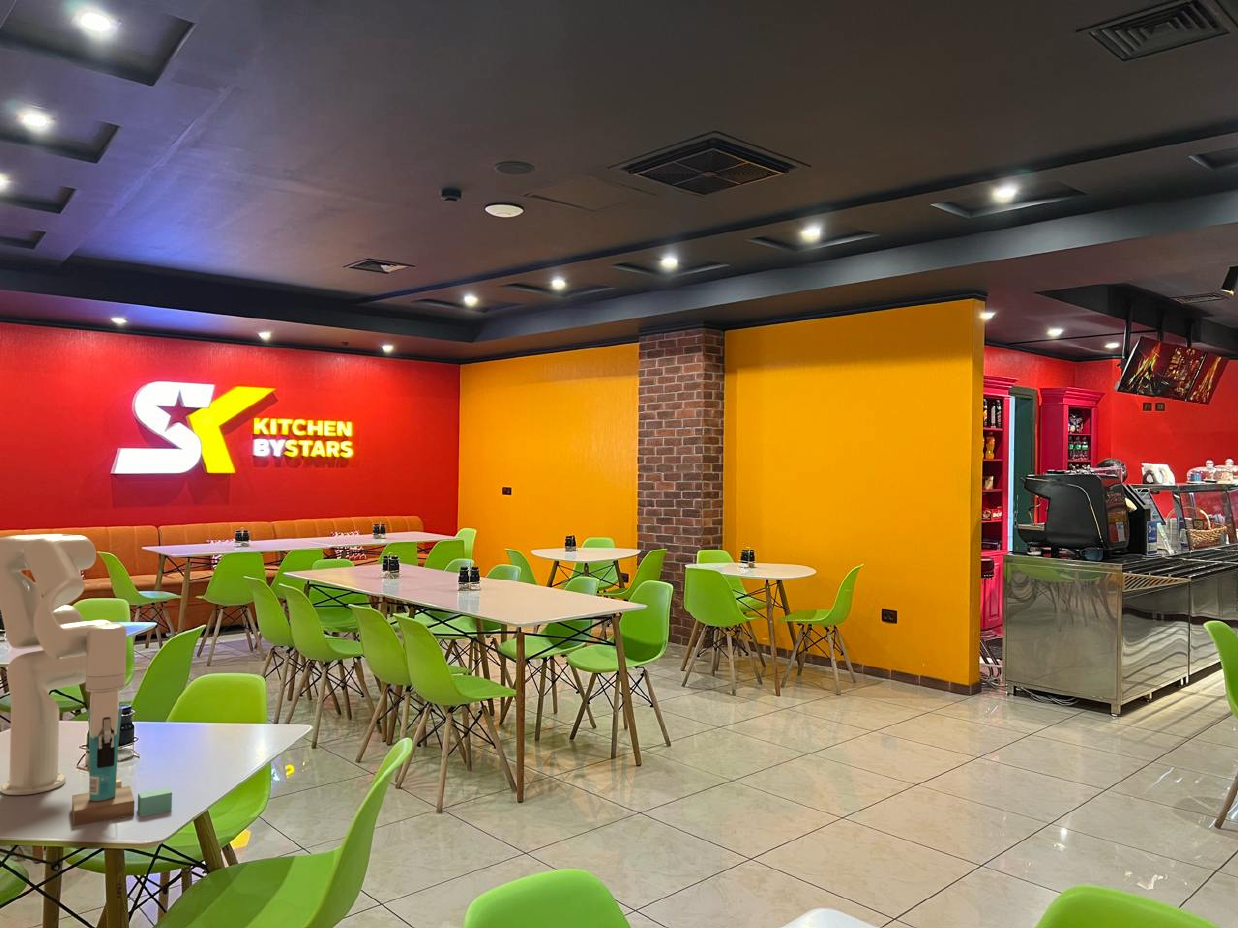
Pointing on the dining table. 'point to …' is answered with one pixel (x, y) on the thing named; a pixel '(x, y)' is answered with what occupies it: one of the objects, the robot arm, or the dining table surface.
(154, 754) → the dining table surface
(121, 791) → the plinth
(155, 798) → the teal block
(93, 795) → the tube
